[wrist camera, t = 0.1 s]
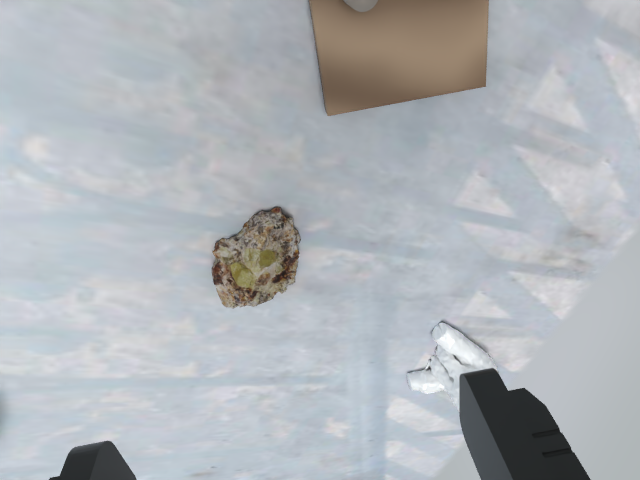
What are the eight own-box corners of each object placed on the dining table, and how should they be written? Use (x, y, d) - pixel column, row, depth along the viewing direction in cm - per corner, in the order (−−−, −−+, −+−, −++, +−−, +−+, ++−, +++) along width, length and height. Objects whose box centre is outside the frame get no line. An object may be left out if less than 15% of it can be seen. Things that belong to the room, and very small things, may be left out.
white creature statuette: (437, 317, 50) (481, 413, 39) (507, 330, 52) (566, 425, 42) (401, 378, 54) (433, 479, 44) (467, 388, 56) (511, 486, 46)
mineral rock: (280, 325, 45) (200, 316, 41) (267, 294, 48) (192, 283, 44) (332, 235, 41) (249, 215, 36) (315, 208, 44) (236, 186, 40)
